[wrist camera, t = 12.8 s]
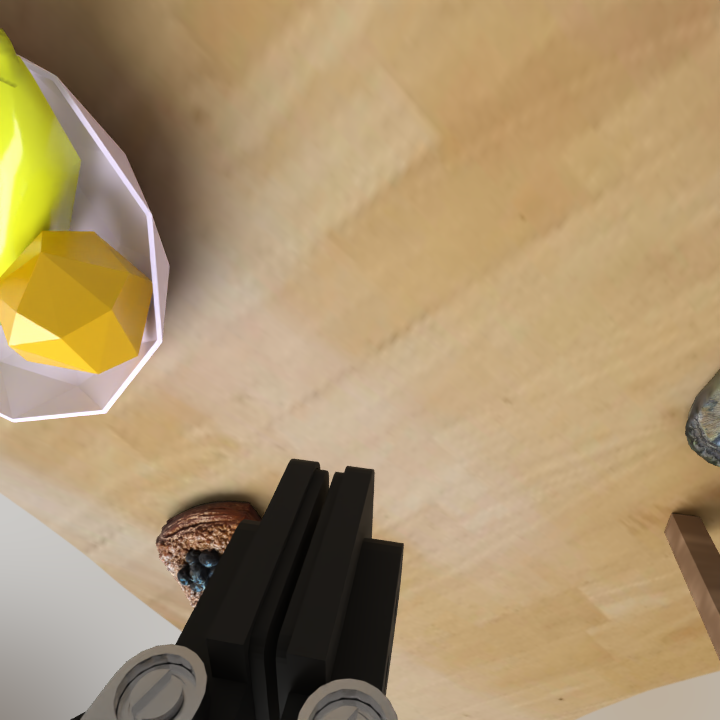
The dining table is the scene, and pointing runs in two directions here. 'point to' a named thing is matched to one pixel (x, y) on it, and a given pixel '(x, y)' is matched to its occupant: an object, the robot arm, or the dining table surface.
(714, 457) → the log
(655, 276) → the dining table surface
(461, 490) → the dining table surface
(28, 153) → the fruit bowl
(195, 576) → the pastry
